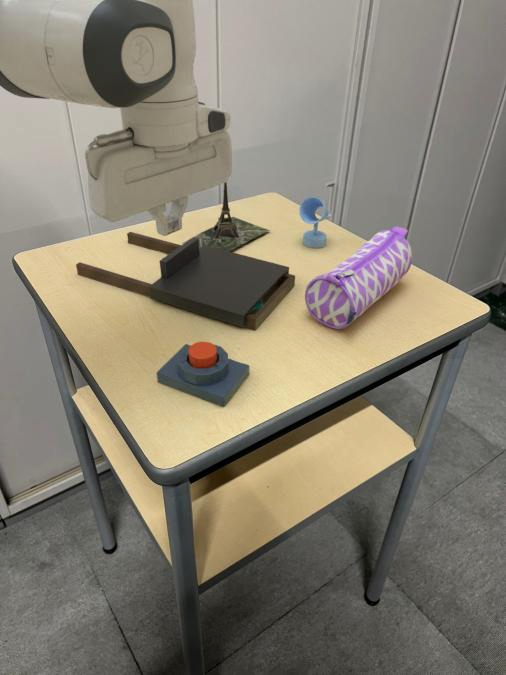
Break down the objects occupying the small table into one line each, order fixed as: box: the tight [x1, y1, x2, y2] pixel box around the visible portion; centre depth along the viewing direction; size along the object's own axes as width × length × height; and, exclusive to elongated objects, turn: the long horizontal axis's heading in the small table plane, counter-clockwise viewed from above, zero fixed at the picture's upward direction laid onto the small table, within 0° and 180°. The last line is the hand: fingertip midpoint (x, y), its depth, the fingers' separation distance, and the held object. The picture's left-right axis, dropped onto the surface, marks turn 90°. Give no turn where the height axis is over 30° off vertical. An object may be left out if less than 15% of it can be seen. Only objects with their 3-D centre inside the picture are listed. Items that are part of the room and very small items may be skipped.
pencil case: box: [304, 225, 413, 330], centre depth 82 cm, size 22×9×10 cm, turn 143°
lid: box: [149, 236, 290, 328], centre depth 85 cm, size 17×17×5 cm
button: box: [188, 341, 217, 369], centre depth 66 cm, size 4×4×2 cm
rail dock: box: [75, 231, 296, 331], centre depth 89 cm, size 35×15×2 cm, turn 63°
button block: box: [156, 343, 250, 408], centre depth 68 cm, size 10×7×4 cm
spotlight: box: [298, 196, 330, 249], centre depth 98 cm, size 5×10×7 cm
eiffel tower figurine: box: [182, 181, 271, 252], centre depth 99 cm, size 15×10×13 cm
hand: (169, 231), depth 68 cm, fingers closed
